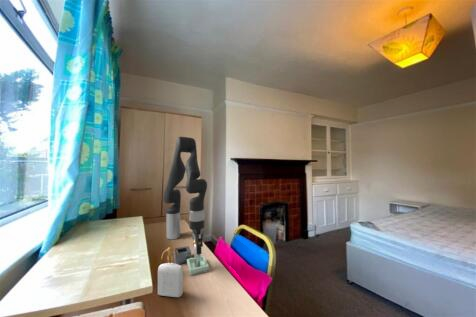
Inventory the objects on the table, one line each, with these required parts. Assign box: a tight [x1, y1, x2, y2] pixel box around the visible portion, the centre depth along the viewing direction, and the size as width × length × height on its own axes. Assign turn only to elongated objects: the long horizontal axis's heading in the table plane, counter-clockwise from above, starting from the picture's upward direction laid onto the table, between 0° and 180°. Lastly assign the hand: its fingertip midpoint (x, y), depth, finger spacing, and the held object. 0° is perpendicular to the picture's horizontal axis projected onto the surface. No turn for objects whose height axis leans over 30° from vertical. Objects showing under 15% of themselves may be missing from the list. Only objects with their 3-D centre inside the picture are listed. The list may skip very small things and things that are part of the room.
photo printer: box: [157, 262, 184, 298], centre depth 81 cm, size 10×4×12 cm, turn 81°
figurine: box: [160, 246, 179, 263], centre depth 96 cm, size 8×6×12 cm
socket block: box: [173, 245, 192, 265], centre depth 108 cm, size 8×8×5 cm
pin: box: [192, 239, 201, 268], centre depth 100 cm, size 4×4×13 cm
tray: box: [186, 255, 210, 276], centre depth 100 cm, size 11×9×2 cm
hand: (197, 250), depth 100 cm, fingers open, 8 cm apart
